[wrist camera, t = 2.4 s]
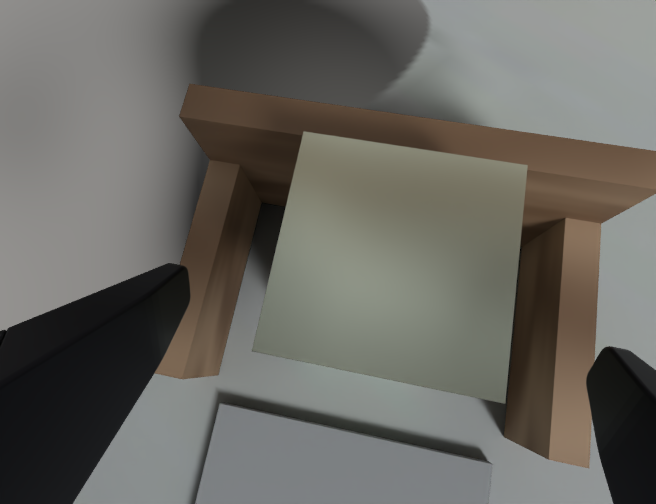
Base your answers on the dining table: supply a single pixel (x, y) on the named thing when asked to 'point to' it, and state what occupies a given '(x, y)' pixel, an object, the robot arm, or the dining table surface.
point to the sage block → (397, 265)
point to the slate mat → (328, 465)
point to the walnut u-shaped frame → (435, 135)
